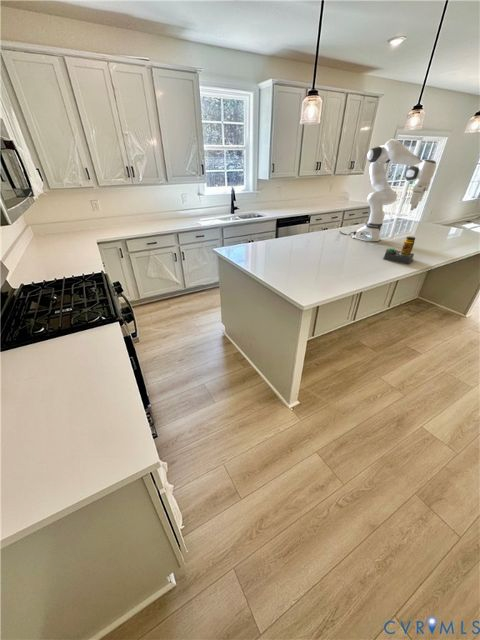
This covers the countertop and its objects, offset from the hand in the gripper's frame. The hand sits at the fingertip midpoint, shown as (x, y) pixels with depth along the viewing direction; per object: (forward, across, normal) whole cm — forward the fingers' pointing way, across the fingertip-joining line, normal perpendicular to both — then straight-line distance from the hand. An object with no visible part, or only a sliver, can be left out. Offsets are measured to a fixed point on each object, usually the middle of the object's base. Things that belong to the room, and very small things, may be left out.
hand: (413, 209), depth 183 cm
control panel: (+31, +18, +4) cm, 36 cm away
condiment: (+27, +16, +7) cm, 33 cm away
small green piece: (+25, +21, -2) cm, 33 cm away
